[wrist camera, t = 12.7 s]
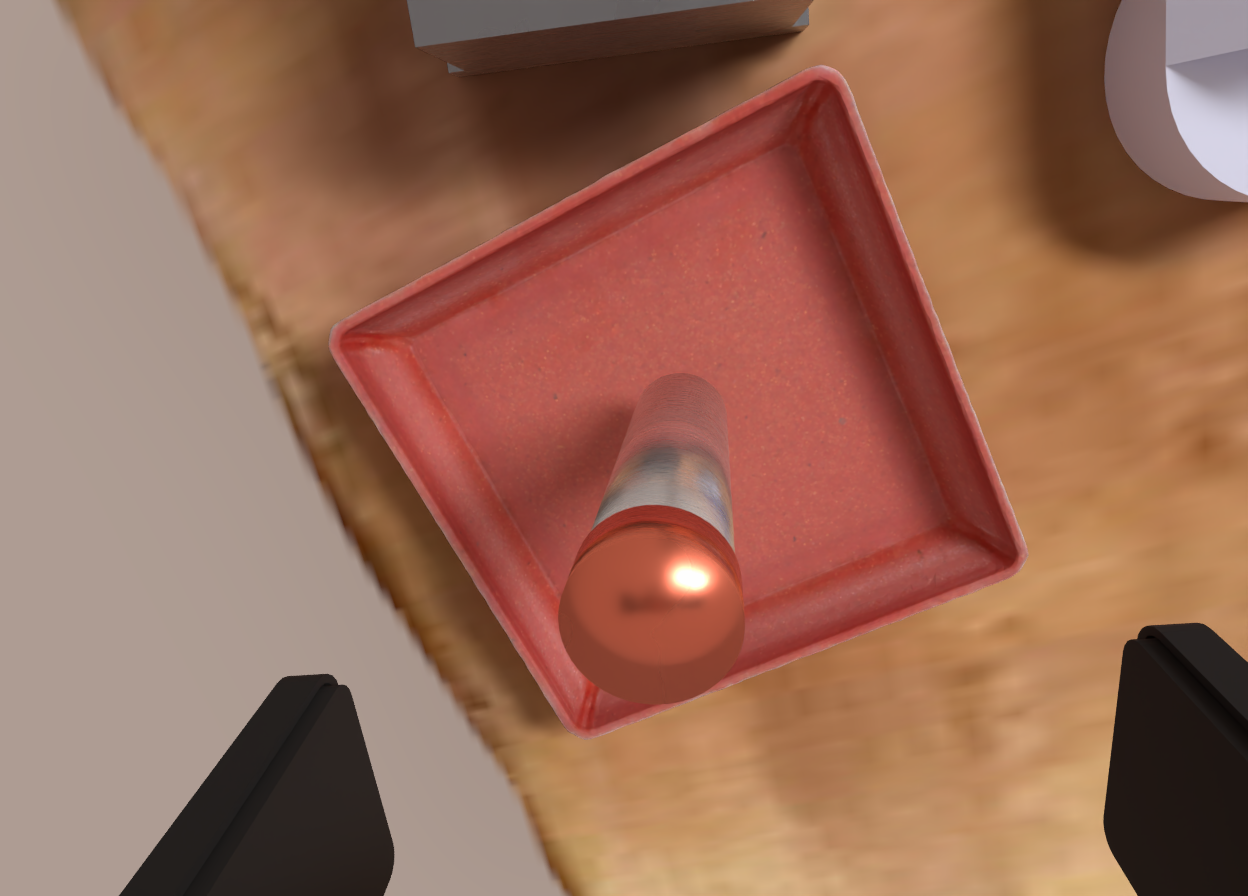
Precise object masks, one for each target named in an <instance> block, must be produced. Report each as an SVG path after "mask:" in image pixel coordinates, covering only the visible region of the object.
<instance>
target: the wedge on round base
mask: <svg viewBox="0 0 1248 896" xmlns="http://www.w3.org/2000/svg"><path fill="white" fill-rule="evenodd" d="M1104 83H1105V95H1106V102H1107V107H1108V111H1109V116H1110V120H1111V122H1112V125H1113V127H1114V130H1115V132H1116V135H1117V137H1118V139H1119V141H1120V142H1121V144H1122V146H1123V147H1124V149H1125V151H1126V153H1127V154H1128V155H1129V156H1130V157H1131V159H1132V160H1133V161H1134V162H1135V163H1136V165H1137V166H1138V167H1139V168H1140V169H1141V170H1143V171H1144V172H1145V173H1146V174H1147V175H1148V176H1150V177H1151V178H1152V179H1153V180H1155V181H1157V182H1158V183H1160V184H1162V185H1163V186H1165V187H1167V188H1168V189H1171V190H1173V191H1176V192H1178V193H1181V194H1184V195H1186V196H1191V197H1195V198H1200V199H1205V200H1218V201H1234V202H1248V0H1122V1H1121V3H1120V5H1119V8H1118V10H1117V12H1116V15H1115V18H1114V22H1113V25H1112V28H1111V31H1110V35H1109V40H1108V45H1107V51H1106V56H1105V73H1104Z"/></svg>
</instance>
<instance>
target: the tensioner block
mask: <svg viewBox="0 0 1248 896" xmlns="http://www.w3.org/2000/svg"><path fill="white" fill-rule="evenodd" d="M812 2H813V0H407V4H408V9H409V15H410V21H411V26H412V32H413V38H414V43H415V47H416V48H418V49H420V50H422V51H424V52H426V53H428V54H430V55H432V56H435V57H437V58H439V59H441V60H443V61H445V62H447V65H448V71H449V73H450V74H452V75H455V76H457V77H463V76H471V75H478V74H486V73H493V72H501V71H508V70H516V69H523V68H531V67H538V66H546V65H553V64H561V63H568V62H576V61H583V60H591V59H598V58H606V57H613V56H621V55H628V54H636V53H643V52H651V51H658V50H666V49H673V48H681V47H688V46H696V45H703V44H711V43H718V42H726V41H733V40H741V39H748V38H756V37H763V36H771V35H778V34H786V33H793V32H801V31H804V30H805V28H806V27H807V26H808V25H809V9H808V7H809V5H810V4H811V3H812Z"/></svg>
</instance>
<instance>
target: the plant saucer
mask: <svg viewBox="0 0 1248 896" xmlns="http://www.w3.org/2000/svg"><path fill="white" fill-rule="evenodd" d="M329 350H330V352H331V354H332V356H333V359H334V360H335V362H336V364H337V365H338V367H339V369H340V370H341V372H342V373H343V375H344V377H345V378H346V380H347V381H348V383H349V384H350V386H351V387H352V389H353V390H354V392H355V394H356V395H357V397H358V398H359V400H360V401H361V403H362V404H363V406H364V407H365V409H366V411H367V413H368V415H369V417H370V418H371V419H372V421H373V422H374V424H375V425H376V427H377V429H378V431H379V432H380V434H381V435H382V437H383V438H384V440H385V441H386V443H387V444H388V446H389V448H390V449H391V451H392V452H393V454H394V456H395V457H396V459H397V460H398V461H399V463H400V464H401V466H402V468H403V470H404V472H405V473H406V475H407V476H408V478H409V479H410V480H411V482H412V484H413V486H414V487H415V489H416V491H417V492H418V494H419V495H420V497H421V498H422V500H423V502H424V503H425V505H426V507H427V508H428V510H429V511H430V513H431V515H432V516H433V518H434V520H435V521H436V523H437V524H438V526H439V527H440V529H441V530H442V532H443V534H444V535H445V537H446V538H447V540H448V542H449V544H450V545H451V547H452V549H453V550H454V551H455V553H456V554H457V556H458V557H459V559H460V560H461V562H462V564H463V566H464V567H465V569H466V570H467V572H468V573H469V575H470V576H471V578H472V580H473V582H474V584H475V585H476V587H477V589H478V590H479V592H480V593H481V594H482V596H483V597H484V598H485V600H486V602H487V604H488V605H489V607H490V609H491V611H492V613H493V614H494V616H495V617H496V619H497V620H498V622H499V623H500V625H501V626H502V627H503V629H504V631H505V632H506V634H507V636H508V637H509V639H510V641H511V643H512V644H513V646H514V648H515V649H516V651H517V652H518V654H519V655H520V657H521V658H522V659H523V661H524V662H525V664H526V666H527V669H528V670H529V672H530V673H531V675H532V676H533V678H534V679H535V681H536V682H537V684H538V686H539V687H540V689H541V691H542V693H543V694H544V696H545V698H546V699H547V701H548V702H549V704H550V705H551V707H552V708H553V710H554V712H555V714H556V715H557V716H558V718H559V719H560V721H561V722H562V724H563V725H564V727H565V728H566V729H567V731H568V732H570V733H572V734H574V735H575V736H577V737H579V738H581V739H584V740H586V739H592V738H595V737H599V736H602V735H604V734H607V733H610V732H612V731H614V730H616V729H619V728H621V727H624V726H627V725H629V724H633V723H636V722H638V721H641V720H643V719H646V718H649V717H652V716H654V715H656V714H658V713H661V712H663V711H666V710H669V709H671V708H674V707H677V706H679V705H682V704H685V703H687V702H690V701H692V700H695V699H697V698H699V697H702V696H704V695H707V694H710V693H713V692H715V691H718V690H722V689H724V688H726V687H728V686H731V685H734V684H737V683H739V682H741V681H743V680H745V679H748V678H751V677H754V676H757V675H759V674H761V673H764V672H766V671H770V670H773V669H776V668H779V667H781V666H783V665H786V664H788V663H790V662H792V661H794V660H797V659H800V658H803V657H806V656H809V655H812V654H815V653H817V652H820V651H823V650H825V649H828V648H830V647H832V646H835V645H837V644H839V643H842V642H845V641H848V640H850V639H853V638H855V637H857V636H860V635H863V634H866V633H868V632H871V631H873V630H876V629H878V628H881V627H883V626H886V625H889V624H891V623H894V622H898V621H901V620H903V619H905V618H907V617H910V616H912V615H914V614H917V613H920V612H923V611H925V610H928V609H930V608H933V607H935V606H938V605H941V604H944V603H947V602H949V601H951V600H954V599H956V598H959V597H962V596H965V595H968V594H971V593H974V592H976V591H978V590H980V589H982V588H984V587H987V586H990V585H993V584H996V583H999V582H1001V581H1003V580H1006V579H1008V578H1010V577H1012V576H1013V575H1015V574H1016V573H1018V572H1019V571H1020V570H1021V568H1022V567H1023V565H1024V563H1025V561H1026V559H1027V557H1028V549H1027V546H1026V543H1025V540H1024V537H1023V535H1022V532H1021V530H1020V527H1019V525H1018V523H1017V520H1016V517H1015V514H1014V510H1013V508H1012V506H1011V504H1010V502H1009V500H1008V497H1007V494H1006V491H1005V489H1004V486H1003V484H1002V482H1001V479H1000V477H999V474H998V471H997V469H996V466H995V464H994V461H993V458H992V456H991V453H990V451H989V448H988V446H987V443H986V441H985V438H984V435H983V433H982V430H981V428H980V425H979V422H978V419H977V416H976V414H975V412H974V409H973V407H972V405H971V402H970V399H969V396H968V394H967V392H966V389H965V387H964V384H963V381H962V378H961V376H960V374H959V372H958V369H957V367H956V364H955V361H954V358H953V355H952V352H951V350H950V347H949V344H948V342H947V340H946V337H945V335H944V333H943V330H942V328H941V325H940V322H939V318H938V316H937V314H936V312H935V310H934V308H933V305H932V301H931V298H930V295H929V293H928V291H927V289H926V286H925V283H924V281H923V278H922V276H921V274H920V272H919V269H918V266H917V263H916V260H915V257H914V254H913V252H912V249H911V247H910V244H909V242H908V239H907V237H906V234H905V232H904V229H903V227H902V224H901V222H900V219H899V217H898V214H897V211H896V208H895V205H894V203H893V200H892V197H891V195H890V192H889V190H888V188H887V185H886V183H885V181H884V178H883V175H882V172H881V169H880V166H879V164H878V161H877V159H876V156H875V154H874V151H873V149H872V146H871V144H870V141H869V139H868V136H867V133H866V131H865V128H864V125H863V122H862V120H861V117H860V115H859V113H858V110H857V106H856V103H855V100H854V97H853V94H852V92H851V90H850V88H849V86H848V84H847V82H846V80H845V78H844V77H843V76H842V75H841V74H840V73H839V71H837V70H835V69H834V68H831V67H828V66H825V65H818V66H814V67H810V68H807V69H805V70H803V71H801V72H799V73H797V74H795V75H793V76H791V77H790V78H788V79H786V80H784V81H782V82H780V83H779V84H777V85H775V86H773V87H771V88H769V89H768V90H766V91H764V92H762V93H760V94H758V95H756V96H754V97H753V98H751V99H749V100H747V101H745V102H743V103H741V104H739V105H737V106H735V107H733V108H731V109H729V110H727V111H725V112H723V113H722V114H720V115H718V116H716V117H715V118H713V119H711V120H709V121H708V122H706V123H704V124H702V125H700V126H699V127H697V128H695V129H693V130H691V131H689V132H687V133H685V134H683V135H681V136H679V137H677V138H675V139H674V140H672V141H670V142H668V143H666V144H664V145H662V146H661V147H659V148H657V149H655V150H653V151H651V152H649V153H648V154H646V155H644V156H642V157H640V158H638V159H637V160H635V161H633V162H631V163H629V164H627V165H625V166H623V167H621V168H619V169H617V170H615V171H613V172H611V173H609V174H607V175H605V176H604V177H602V178H601V179H599V180H598V181H596V182H594V183H593V184H591V185H590V186H588V187H586V188H584V189H582V190H580V191H578V192H576V193H574V194H572V195H570V196H568V197H566V198H564V199H563V200H561V201H559V202H558V203H556V204H554V205H552V206H550V207H548V208H547V209H545V210H543V211H541V212H540V213H538V214H536V215H534V216H532V217H530V218H528V219H526V220H524V221H523V222H521V223H519V224H517V225H515V226H513V227H511V228H509V229H507V230H505V231H504V232H502V233H500V234H499V235H497V236H496V237H494V238H492V239H490V240H488V241H486V242H485V243H483V244H481V245H479V246H477V247H475V248H474V249H472V250H470V251H468V252H466V253H465V254H463V255H461V256H459V257H457V258H455V259H453V260H451V261H450V262H448V263H446V264H444V265H442V266H440V267H438V268H436V269H434V270H432V271H430V272H429V273H427V274H425V275H423V276H421V277H420V278H418V279H416V280H414V281H413V282H411V283H409V284H407V285H405V286H404V287H402V288H400V289H398V290H396V291H394V292H392V293H390V294H388V295H386V296H384V297H383V298H381V299H379V300H377V301H375V302H373V303H371V304H369V305H367V306H366V307H364V308H362V309H360V310H359V311H357V312H355V313H353V314H352V315H350V316H348V317H346V318H344V319H342V320H340V321H339V322H338V323H336V324H335V325H334V326H333V327H332V328H331V331H330V335H329ZM674 373H688V374H693V375H696V376H699V377H701V378H703V379H705V380H706V381H708V382H709V383H710V384H712V385H713V386H714V387H715V388H716V390H717V391H718V392H719V394H720V395H721V397H722V399H723V401H724V404H725V407H726V412H727V427H728V444H729V461H730V478H731V495H732V513H733V530H734V547H735V555H736V557H737V560H738V563H739V566H740V571H741V576H742V588H743V602H744V616H745V633H744V640H743V644H742V648H741V651H740V653H739V655H738V658H737V660H736V662H735V663H734V665H733V666H732V668H731V670H730V671H729V672H728V673H727V674H726V675H725V677H724V678H723V679H722V680H720V681H719V682H718V683H717V684H716V685H715V686H713V687H712V688H710V689H709V690H707V691H706V692H704V693H702V694H700V695H698V696H696V697H694V698H691V699H688V700H685V701H681V702H677V703H671V704H662V705H650V704H641V703H635V702H631V701H627V700H624V699H621V698H618V697H615V696H613V695H611V694H609V693H607V692H605V691H603V690H602V689H600V688H599V687H597V686H596V685H594V684H593V683H592V682H591V681H589V680H588V679H587V678H586V677H585V676H584V675H583V674H582V673H581V672H580V671H579V670H578V669H577V667H576V666H575V665H574V663H573V662H572V661H571V659H570V657H569V656H568V654H567V652H566V650H565V647H564V645H563V642H562V639H561V635H560V631H559V623H558V610H559V604H560V599H561V596H562V593H563V590H564V587H565V584H566V582H567V579H568V576H569V574H570V571H571V569H572V566H573V563H574V561H575V558H576V555H577V553H578V550H579V548H580V546H581V544H582V543H583V541H584V540H585V538H586V537H587V535H588V534H589V533H590V532H591V530H592V527H593V524H594V521H595V519H596V516H597V513H598V510H599V508H600V505H601V502H602V499H603V496H604V494H605V491H606V488H607V485H608V483H609V480H610V477H611V474H612V472H613V469H614V466H615V463H616V461H617V458H618V455H619V452H620V449H621V447H622V444H623V441H624V438H625V436H626V433H627V430H628V427H629V425H630V422H631V419H632V416H633V414H634V411H635V408H636V405H637V402H638V400H639V398H640V396H641V394H642V393H643V391H644V390H645V389H646V388H647V387H648V386H649V385H650V384H651V383H652V382H653V381H655V380H657V379H658V378H660V377H663V376H665V375H669V374H674Z"/></svg>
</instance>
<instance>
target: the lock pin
mask: <svg viewBox="0 0 1248 896" xmlns="http://www.w3.org/2000/svg"><path fill="white" fill-rule="evenodd" d="M558 623H559V631H560V635H561V639H562V642H563V645H564V647H565V650H566V652H567V654H568V656H569V657H570V659H571V661H572V662H573V663H574V665H575V666H576V667H577V669H578V670H579V671H580V672H581V673H582V674H583V675H584V676H585V677H586V678H587V679H588V680H589V681H591V682H592V683H593V684H594V685H596V686H597V687H599V688H600V689H602V690H603V691H605V692H607V693H609V694H611V695H613V696H615V697H618V698H621V699H624V700H627V701H631V702H635V703H641V704H650V705H662V704H671V703H677V702H681V701H685V700H688V699H691V698H694V697H696V696H698V695H700V694H702V693H704V692H706V691H707V690H709V689H710V688H712V687H713V686H715V685H716V684H717V683H718V682H719V681H720V680H722V679H723V678H724V677H725V675H726V674H727V673H728V672H729V671H730V670H731V668H732V666H733V665H734V663H735V662H736V660H737V658H738V655H739V653H740V651H741V648H742V644H743V640H744V633H745V616H744V602H743V588H742V576H741V571H740V566H739V563H738V560H737V557H736V555H735V547H734V530H733V513H732V495H731V478H730V461H729V444H728V427H727V412H726V407H725V404H724V401H723V399H722V397H721V395H720V394H719V392H718V391H717V390H716V388H715V387H714V386H713V385H712V384H710V383H709V382H708V381H706V380H705V379H703V378H701V377H699V376H696V375H693V374H688V373H674V374H669V375H665V376H663V377H660V378H658V379H657V380H655V381H653V382H652V383H651V384H650V385H649V386H648V387H647V388H646V389H645V390H644V391H643V393H642V394H641V396H640V398H639V400H638V402H637V405H636V408H635V411H634V414H633V416H632V419H631V422H630V425H629V427H628V430H627V433H626V436H625V438H624V441H623V444H622V447H621V449H620V452H619V455H618V458H617V461H616V463H615V466H614V469H613V472H612V474H611V477H610V480H609V483H608V485H607V488H606V491H605V494H604V496H603V499H602V502H601V505H600V508H599V510H598V513H597V516H596V519H595V521H594V524H593V527H592V530H591V532H590V533H589V534H588V535H587V537H586V538H585V540H584V541H583V543H582V544H581V546H580V548H579V550H578V553H577V555H576V558H575V561H574V563H573V566H572V569H571V571H570V574H569V576H568V579H567V582H566V584H565V587H564V590H563V593H562V596H561V599H560V604H559V610H558Z"/></svg>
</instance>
